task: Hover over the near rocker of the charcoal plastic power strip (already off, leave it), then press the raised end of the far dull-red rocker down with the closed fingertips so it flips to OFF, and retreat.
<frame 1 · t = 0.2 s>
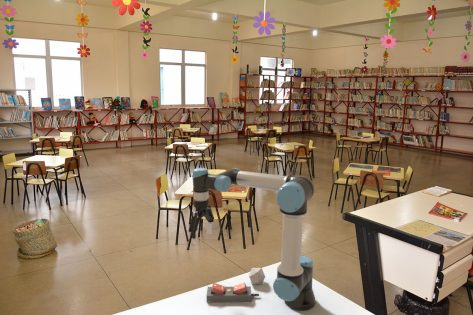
hand: (202, 238, 189), 28 cm above the table, fingers open, 13 cm apart
rocker far: (218, 288, 186), point 5 cm above the table, hinge at -20.0°
power strip: (229, 297, 187), on the table
die: (256, 283, 200), on the table
rocker near: (240, 288, 186), point 5 cm above the table, hinge at 20.0°
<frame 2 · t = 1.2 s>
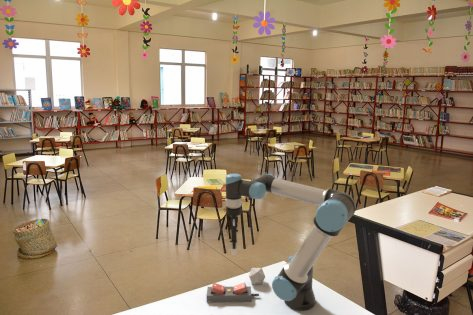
hand: (234, 249, 182), 26 cm above the table, fingers open, 10 cm apart
nothing on the table moved.
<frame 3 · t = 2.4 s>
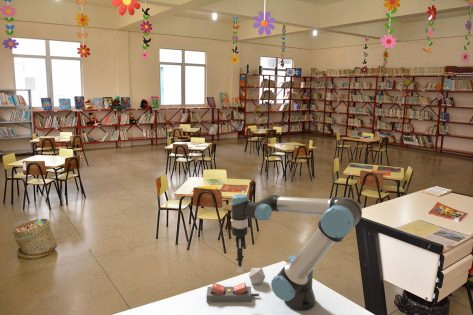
hand: (239, 271, 184), 14 cm above the table, fingers closed
nothing on the table moved.
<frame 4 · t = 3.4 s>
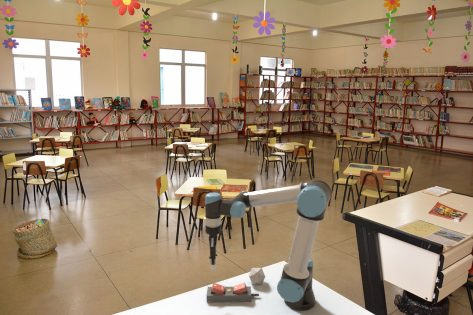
hand: (213, 269, 184), 15 cm above the table, fingers closed
nothing on the table moved.
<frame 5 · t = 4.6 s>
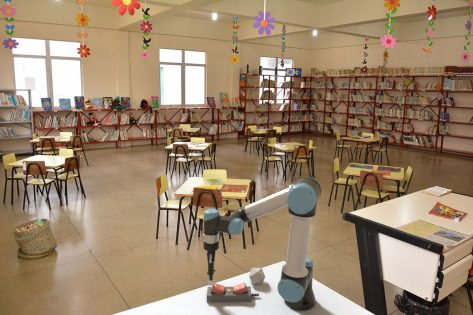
hand: (211, 284, 185), 7 cm above the table, fingers closed
rocker far: (218, 288, 186), point 5 cm above the table, hinge at -18.4°, touching gripper
everything else where it was.
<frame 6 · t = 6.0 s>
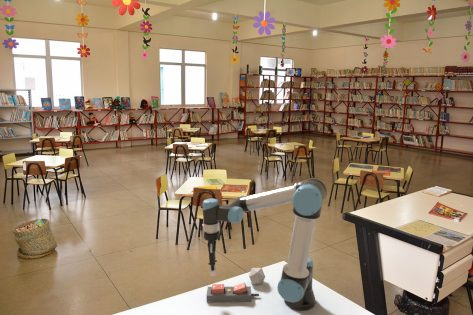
hand: (213, 275, 184), 12 cm above the table, fingers closed
rocker far: (218, 288, 186), point 5 cm above the table, hinge at 2.5°
everything else where it was.
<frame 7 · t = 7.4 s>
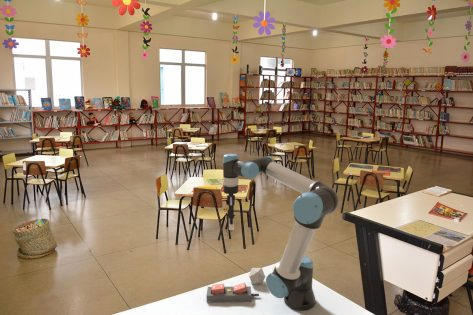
hand: (231, 229, 190), 32 cm above the table, fingers closed
rocker far: (218, 288, 186), point 5 cm above the table, hinge at 7.4°
everything else where it was.
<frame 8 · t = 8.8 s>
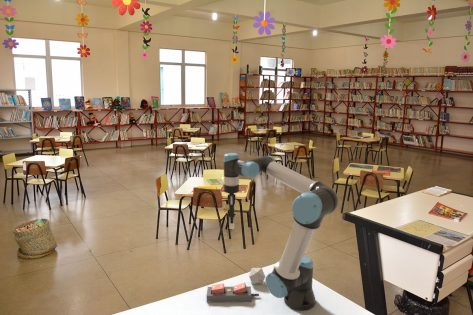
hand: (231, 228, 190), 32 cm above the table, fingers closed
rocker far: (218, 288, 186), point 5 cm above the table, hinge at 9.2°
everything else where it was.
at the end: rocker far at +9° (first picture: -20°); rocker near at +20° (first picture: +20°); die moved 0.2 cm from its start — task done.
